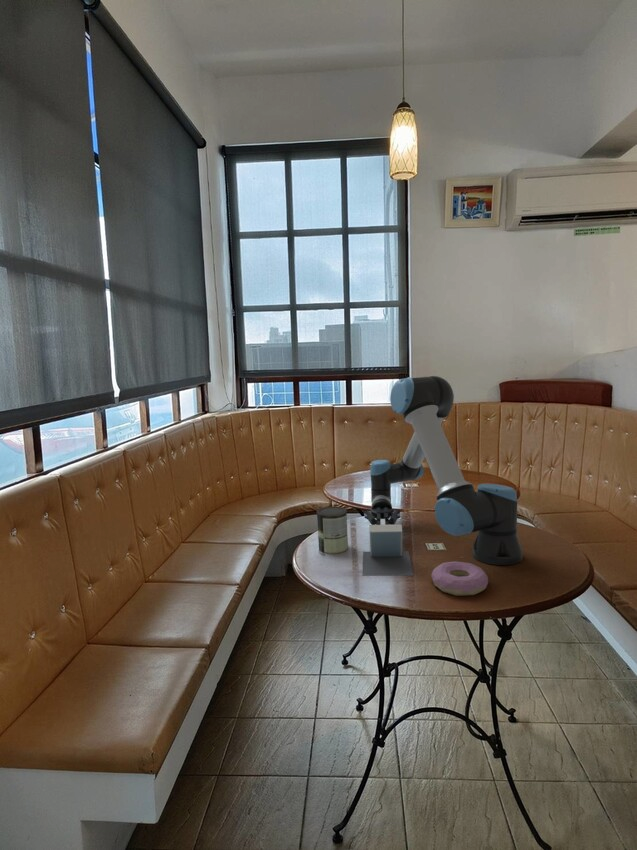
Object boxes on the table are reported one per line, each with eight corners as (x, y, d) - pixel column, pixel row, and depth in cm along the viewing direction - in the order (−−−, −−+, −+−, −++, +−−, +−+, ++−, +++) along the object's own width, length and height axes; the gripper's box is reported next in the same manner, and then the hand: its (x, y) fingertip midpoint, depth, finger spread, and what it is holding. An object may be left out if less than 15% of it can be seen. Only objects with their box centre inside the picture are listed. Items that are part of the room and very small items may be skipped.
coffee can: (312, 552, 172) (310, 512, 171) (330, 543, 180) (329, 504, 178) (336, 558, 166) (334, 517, 164) (354, 548, 174) (352, 509, 172)
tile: (401, 549, 165) (401, 524, 157) (401, 556, 163) (402, 531, 154) (370, 549, 166) (369, 524, 158) (370, 556, 164) (369, 532, 156)
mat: (408, 553, 167) (408, 551, 167) (413, 577, 148) (413, 575, 148) (363, 553, 169) (363, 551, 169) (362, 578, 150) (362, 575, 150)
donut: (456, 570, 153) (456, 554, 152) (499, 587, 140) (499, 570, 139) (420, 585, 144) (419, 568, 143) (463, 605, 131) (463, 586, 131)
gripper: (399, 517, 185) (404, 540, 162) (364, 518, 187) (363, 540, 164) (399, 497, 185) (403, 517, 161) (363, 498, 186) (362, 518, 163)
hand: (383, 529), depth 162 cm, fingers closed
